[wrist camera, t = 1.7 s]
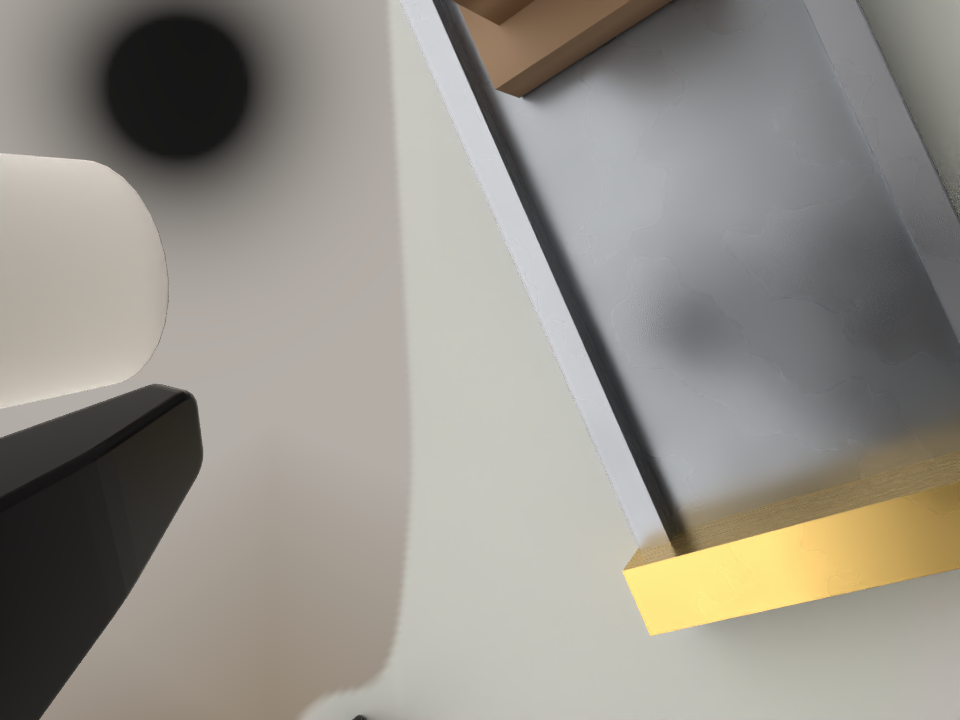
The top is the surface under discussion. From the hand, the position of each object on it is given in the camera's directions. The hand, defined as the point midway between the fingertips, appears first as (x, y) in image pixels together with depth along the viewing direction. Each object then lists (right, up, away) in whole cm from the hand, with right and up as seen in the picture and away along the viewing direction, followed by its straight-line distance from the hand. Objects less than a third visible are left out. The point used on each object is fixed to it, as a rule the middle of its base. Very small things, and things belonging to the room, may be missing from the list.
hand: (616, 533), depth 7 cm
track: (+3, +6, +11) cm, 13 cm away
